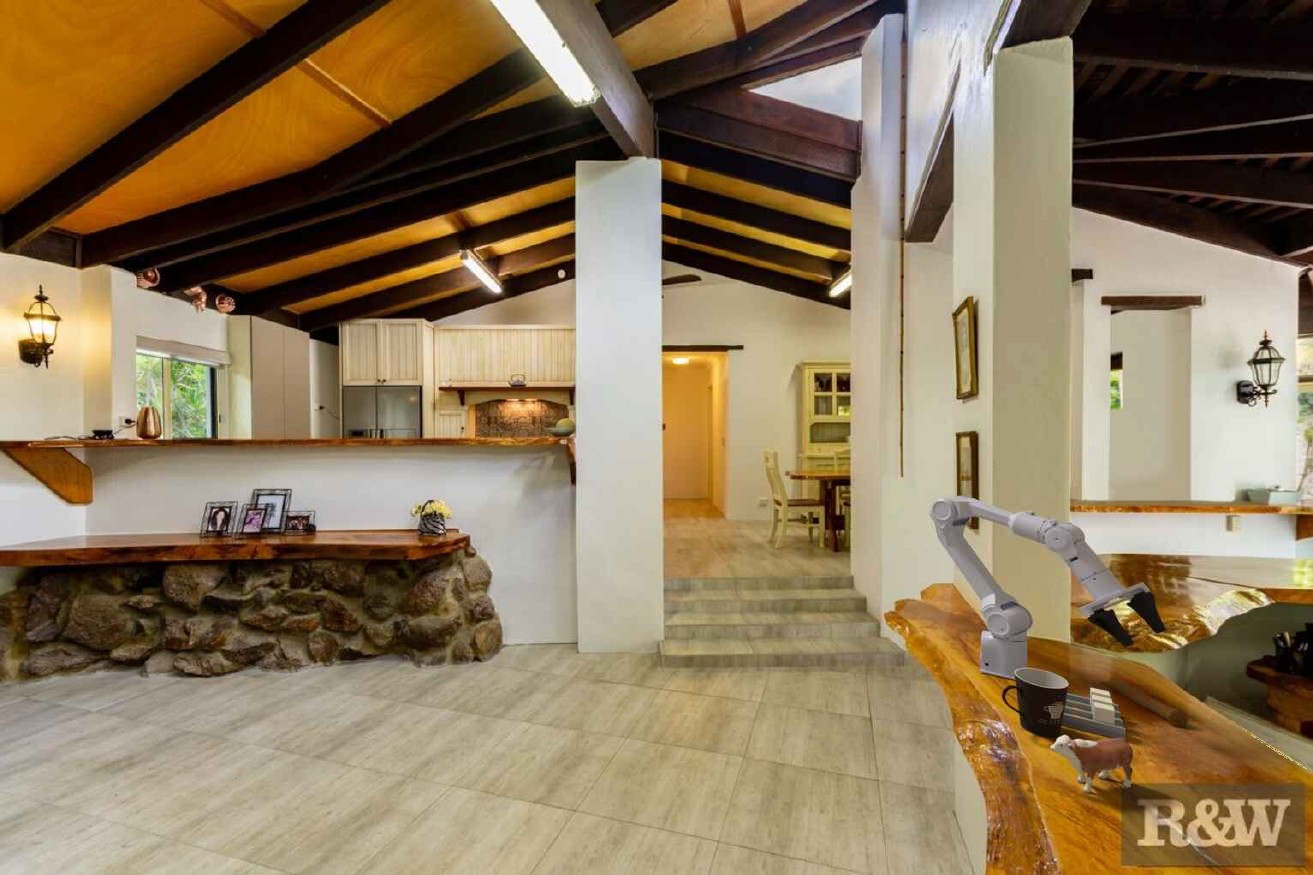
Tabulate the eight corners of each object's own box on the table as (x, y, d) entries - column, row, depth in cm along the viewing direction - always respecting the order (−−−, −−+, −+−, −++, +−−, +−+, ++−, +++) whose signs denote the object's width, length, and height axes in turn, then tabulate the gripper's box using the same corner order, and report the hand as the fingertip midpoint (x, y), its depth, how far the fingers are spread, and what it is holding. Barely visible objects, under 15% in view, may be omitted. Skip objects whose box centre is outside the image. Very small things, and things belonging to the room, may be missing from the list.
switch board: (1058, 724, 107) (1059, 712, 107) (1056, 701, 116) (1056, 690, 116) (1125, 741, 102) (1125, 728, 102) (1117, 715, 111) (1117, 704, 111)
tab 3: (1094, 723, 105) (1094, 706, 105) (1093, 718, 107) (1093, 701, 107) (1114, 728, 103) (1114, 711, 103) (1113, 723, 105) (1113, 706, 105)
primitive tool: (1096, 682, 126) (1096, 667, 126) (1121, 683, 125) (1121, 668, 125) (1171, 729, 106) (1172, 711, 106) (1200, 730, 106) (1201, 712, 106)
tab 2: (1092, 715, 108) (1092, 699, 108) (1091, 711, 110) (1091, 694, 110) (1112, 720, 106) (1112, 703, 106) (1110, 715, 108) (1111, 698, 108)
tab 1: (1090, 708, 111) (1091, 691, 111) (1090, 703, 113) (1090, 687, 113) (1110, 712, 109) (1110, 696, 109) (1108, 708, 111) (1109, 691, 111)
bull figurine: (1044, 778, 91) (1045, 730, 91) (1119, 773, 92) (1120, 726, 92) (1066, 796, 87) (1067, 745, 87) (1144, 791, 88) (1145, 741, 88)
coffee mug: (1058, 721, 109) (1058, 671, 108) (1075, 745, 100) (1076, 691, 100) (991, 711, 112) (991, 663, 112) (1002, 733, 104) (1003, 681, 104)
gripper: (1076, 581, 111) (1128, 647, 103) (1136, 557, 112) (1191, 621, 105) (1057, 591, 117) (1105, 655, 109) (1114, 569, 118) (1165, 629, 111)
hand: (1145, 639), depth 108 cm, fingers open, 7 cm apart
